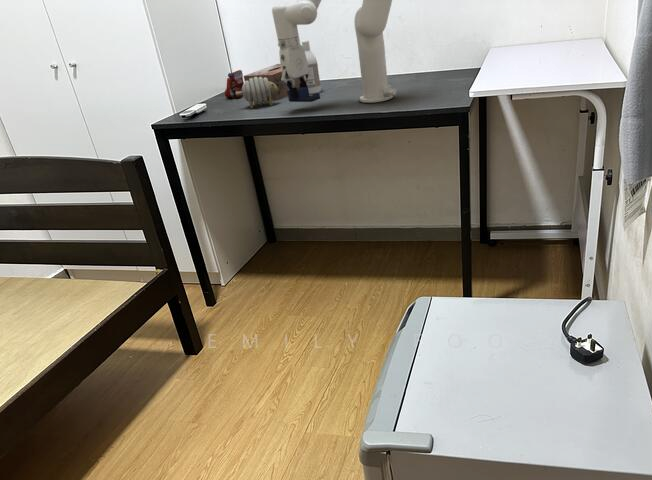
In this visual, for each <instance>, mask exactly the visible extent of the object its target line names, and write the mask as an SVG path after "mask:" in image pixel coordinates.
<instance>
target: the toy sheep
mask: <svg viewBox="0 0 652 480" xmlns="http://www.w3.org/2000/svg"><path fill="white" fill-rule="evenodd" d="M277 93H278V87H277V86H276V85H275V84H274V83H272V82H270V81H268V79H267V78H266V77H265V78H262V77H259V78H257V77H254V78H253V79H252V78H250V79H249V81H244V84H243V86H242V91H239V92H236V96H239V95H242V98H244V99H245V100H246V101H247V102H249V107H250V109H254V108H255V107H254V105H255V106H258V105H260V106H262V105H263V104H267V103H268V105H269V106H273V104H274V103H273V100H272V99H271V95H275V94H277ZM236 96H235V97H236ZM267 98H268V100H267Z"/></svg>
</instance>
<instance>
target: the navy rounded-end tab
mask: <svg viewBox="0 0 652 480" xmlns="http://www.w3.org/2000/svg"><path fill="white" fill-rule="evenodd" d="M296 88H297V93H298V99H291V96H290V91H289V89H288V90H287V94H288V96H287V99H288V102H289V103H313V102H316V101H317V100H320V99H321V95H320V92H319V93H315V94H309V91H308V87H296Z"/></svg>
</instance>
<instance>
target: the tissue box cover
mask: <svg viewBox="0 0 652 480" xmlns="http://www.w3.org/2000/svg"><path fill="white" fill-rule="evenodd" d="M254 77H257V78H259V77H262V78H265V77H266V78H267V79H268V81H270V82H272V83H274V84H275V85H276V86H277V87H278V93H277V94H275V95H271V99H272V101H279V100H281V99H283V98H285V97H288V94H287V90H288V89H289V88H288V87H287V85H286V84H285V83H283V82H282V81H281V78H282V70H281V64H280V63H276V64H273V65H271V66H268V67H265V68H262V69H259V70H255V71H253V72H250V73H248V74H245V75H243V81H244V82H245V81H249V79H250V78H252V79H253V78H254ZM290 82H291V83H292V80H290ZM299 84H300V81H299V78H296V79H295V87H300V86H299ZM267 101H268V98H267Z"/></svg>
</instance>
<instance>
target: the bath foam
mask: <svg viewBox="0 0 652 480" xmlns="http://www.w3.org/2000/svg"><path fill="white" fill-rule="evenodd" d="M301 45H302V46H303V49H304V52H305V55H306V59H307V63H308V67H309V70H310V73H309V75H308V79H307V81H308V82H307V87H308V91H309V95H314V94H316V93H319V94H320V93H321V92H322V86H321V85H322V84H321V78H320V72H319V65H318V60H317V57H316V56H315V54H314V53H313V52H312V50H311V46H310V40H302V41H301Z"/></svg>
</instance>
